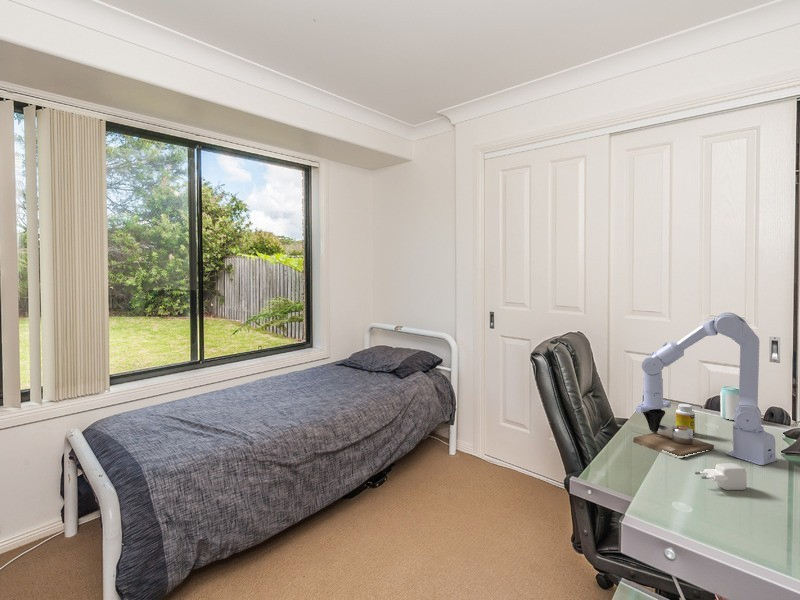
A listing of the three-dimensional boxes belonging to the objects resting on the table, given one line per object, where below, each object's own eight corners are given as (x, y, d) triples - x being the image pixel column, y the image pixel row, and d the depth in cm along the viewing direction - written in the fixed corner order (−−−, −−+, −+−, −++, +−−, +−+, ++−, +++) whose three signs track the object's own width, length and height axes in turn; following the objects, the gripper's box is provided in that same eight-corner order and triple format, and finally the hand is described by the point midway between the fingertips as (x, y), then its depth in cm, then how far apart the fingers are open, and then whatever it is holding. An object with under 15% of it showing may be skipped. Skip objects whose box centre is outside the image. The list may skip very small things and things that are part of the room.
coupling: (696, 442, 136) (696, 427, 136) (684, 445, 134) (684, 430, 134) (658, 430, 148) (658, 416, 148) (647, 432, 146) (646, 418, 146)
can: (732, 415, 165) (732, 385, 165) (748, 421, 158) (748, 389, 158) (716, 416, 165) (715, 386, 165) (731, 422, 158) (731, 390, 158)
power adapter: (704, 492, 108) (704, 470, 108) (692, 483, 113) (692, 462, 113) (749, 491, 108) (749, 469, 107) (735, 482, 112) (735, 461, 112)
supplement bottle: (693, 437, 145) (692, 408, 144) (674, 434, 149) (673, 405, 148) (696, 433, 148) (696, 404, 148) (678, 429, 152) (677, 402, 152)
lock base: (713, 449, 134) (713, 444, 134) (680, 459, 128) (680, 454, 128) (665, 433, 149) (665, 429, 149) (633, 441, 143) (633, 437, 143)
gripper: (656, 386, 150) (657, 423, 150) (627, 391, 144) (628, 430, 145) (676, 390, 143) (676, 429, 144) (646, 396, 138) (647, 437, 138)
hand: (653, 430), depth 144 cm, fingers closed
